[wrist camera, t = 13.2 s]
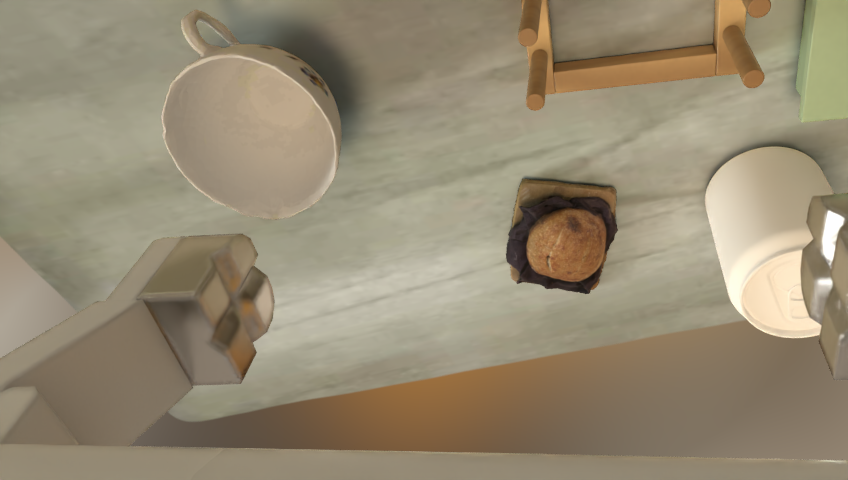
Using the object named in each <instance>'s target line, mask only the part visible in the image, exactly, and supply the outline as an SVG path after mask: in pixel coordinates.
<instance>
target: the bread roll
mask: <svg viewBox="0 0 848 480" xmlns="http://www.w3.org/2000/svg"><path fill="white" fill-rule="evenodd" d="M519 187H520V188H519V190H518V194H517V200H516V201H515V202H516V204H515V210H514V216H513V219H512V223H513V224H512V227H511V230H510V232H509V234H508V235H509V240H508V241H509V242H508V244H507V253H506V258H507V262H508V263H509V264H510V265H511V267H510V268H511V277H512V279H513V280H514V281H517V284H519V283H521V282H527V283H534V284H540V285H542V286H544V287H545V288H546V289H553V288H559V289H563V290H567V291H573V292H580V293H585V294H587V293H588V294H589V293H590V290H593V289H594V288H596V287H597V285H598V283H599V277H600V275H601V272H602V269H603V265H604V262H605V261H606V255H607V251H608V249H609V246H610V244H611V243H612V241H613V240H614V236H615V233H616V232H617V230H618V229H617V225H616V222H615V220H616V219H615V207H616V190H615V189H614V188H612V187H609V188H608V187H607V186H606V187H599V186H598V187H597V186H592V185H588V186H587V185H580V184H566V183H563V182H557V181H552V182H551V181H541V180H531V179H529V180H528V179H522V182H521V184H520V186H519ZM513 209H514V208H513Z"/></svg>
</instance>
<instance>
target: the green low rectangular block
mask: <svg viewBox="0 0 848 480" xmlns="http://www.w3.org/2000/svg"><path fill="white" fill-rule="evenodd" d="M796 89H797V91H798V93H799V94H800V96H801V101H800V109H799V119H800V120H801V122H813V121H824V120H835V119H847V118H848V0H806V2H805V11H804V19H803V28H802V37H801V45H800V54H799V63H798V71H797V80H796Z"/></svg>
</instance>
